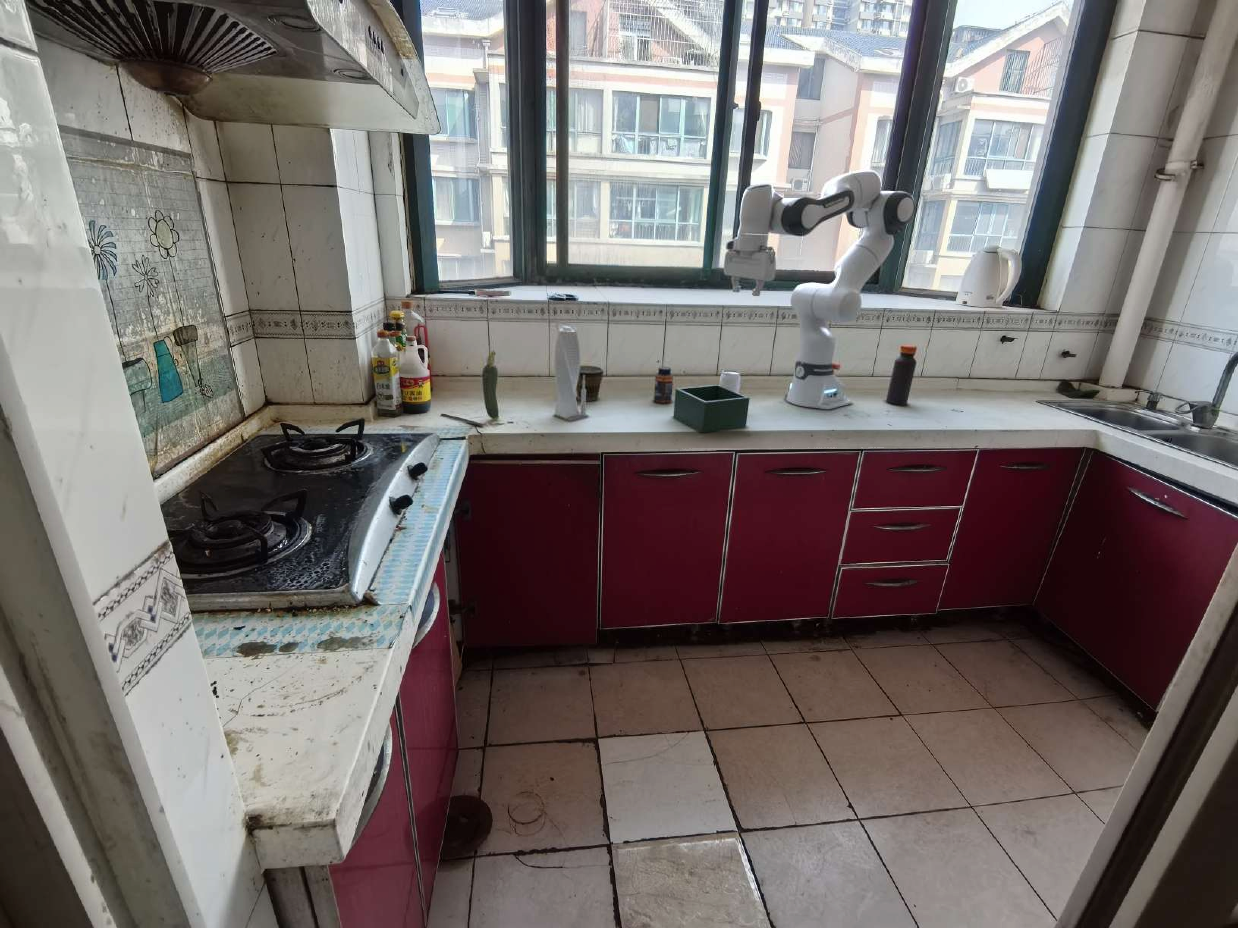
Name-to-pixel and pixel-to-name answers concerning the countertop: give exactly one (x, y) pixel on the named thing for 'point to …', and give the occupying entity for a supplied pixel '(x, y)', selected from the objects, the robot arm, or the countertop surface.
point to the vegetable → (490, 387)
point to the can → (730, 380)
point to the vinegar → (902, 376)
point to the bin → (711, 408)
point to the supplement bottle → (663, 385)
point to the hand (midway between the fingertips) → (745, 294)
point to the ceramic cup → (589, 382)
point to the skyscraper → (568, 373)
